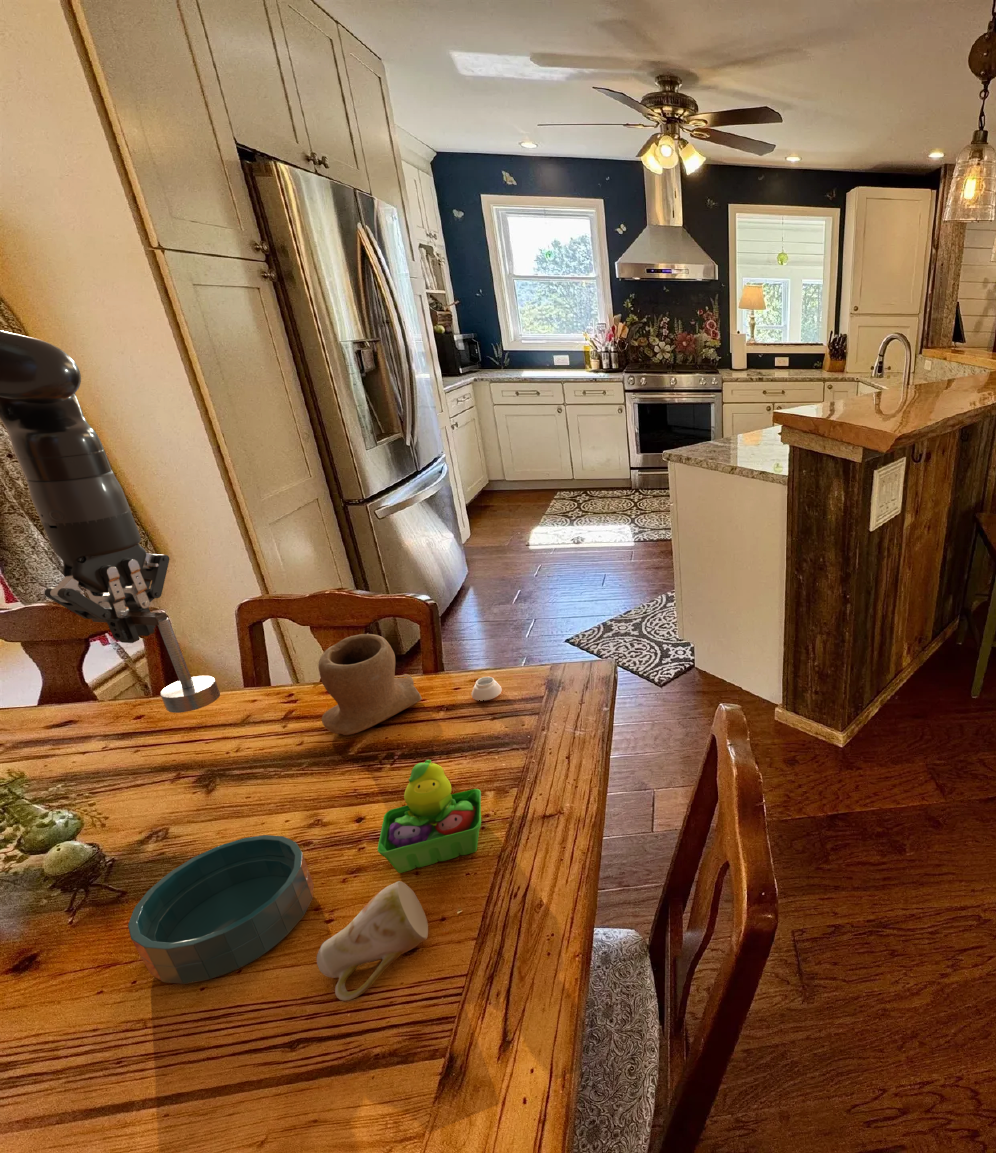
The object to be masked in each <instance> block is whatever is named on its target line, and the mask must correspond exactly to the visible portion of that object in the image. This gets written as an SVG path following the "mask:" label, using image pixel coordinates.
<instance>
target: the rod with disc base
mask: <svg viewBox="0 0 996 1153" xmlns="http://www.w3.org/2000/svg"><path fill="white" fill-rule="evenodd" d="M127 615H130V617H131V619H132V622H133V624H140V625H155V626H157V627H158V630H159V633H160V636H161V637H162V640H163V643H164V645H165V647H166V650H167V653H168V656H169V658H170V660H171V664H172V666H173V669H174V671H175V674H176V676H177V678H178V680H177V681H174V682H172V683H170V684H169V685H167V686H166V687H164V688H163V689H162V690H161V691H160V694H159V695H160V697H161V700H162V702H163V705H164V707H165V710H166V711H167V712H170V713H174V714H180V713H182V714H183V713H187V712H193V711H196V710H200V709H202V708H204V707H207V706H209V705H211V704H213V703H214V702H216V701H217V700H218V699H219V698H220V696H221V691H220V688H219V686H218V683H217V681H216V678H215V677H213V676H211V675H197V676H191V673H190V670H189V668H188V666H187V663H186V660H185V657H184V655H183V653H182V650H181V647H180V644H179V642H178V639H177V636H176V633H175V631H174V628H173V626H172V624H171V621H170V618H169V617H168V616H167V613H166V612H155V611H150V612H138V611H127ZM91 621H92V622H93V623H106V624H107V621H106V620H100V619H91Z"/></svg>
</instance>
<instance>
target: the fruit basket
mask: <svg viewBox="0 0 996 1153" xmlns="http://www.w3.org/2000/svg"><path fill="white" fill-rule="evenodd" d="M451 793H452V784H451V782H450V780H449V778H448V777H447V776H446V773H445V771H444V768H443V767H442V766H441V765H439V764H437V763H435V762H432V760H431V759H426V760H425V761H424V762H418V763H416V764H415V765H414V766H413V768H412V769H411V771H410V777H409V778H408V784H407V786H406V787H405V790H404V793H403V799H404V801H405V803H406V805H403V806H399V807H396V808H391V809H390V810H388V811H387V812H385V813H384V815H383V820H382V823H381V829H380V833H379V834H380V835H379V839H378V843H377V852H378V854H380V856H382V857H383V858H385V859H386V860H387V861H388V862H389V864H390V865H391V866H392V868H394V869H395V870H396V872H397V873H399V874H402V873H403V874H404V873H405V872H410V871H413V870H415V869H416V868H423V867H427V866H431V865H434V864H436V863H438V862H446V861H449V860H452V859H455V858H457V857H460V856H466V855H467V856H468V855H471V854H475V853H476V852H477V851H478V846H479V845H478V844H479V837H480V836H479V834H480V829H481V826H482V791H481V789H478V788H473V789H469V790H464V791H460V792H455V793H452V794H451Z"/></svg>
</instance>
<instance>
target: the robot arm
mask: <svg viewBox="0 0 996 1153" xmlns="http://www.w3.org/2000/svg"><path fill="white" fill-rule="evenodd" d="M81 383H82V374H81V371H80V369H79V366H78V365H77V363H76V362H75V360H74V359H73V358H72V357H71V356H70V355H69V354H68V353H66V352H65V351H64V350H63V349H61V348H59V347H58V346H56V345H54V344H52V343H50V342H48V341H45V340H42V339H40V338H36V337H31V336H26V335H22V334H18V333H13V332H9V331H4V330H0V421H1V422H2V424H3V426H4V427H5V429H6V432H7V434H8V437H9V440H10V443H11V448H12V450H13V453H14V456H15V457H16V460H17V462H18V464H19V466H20V469H21V471H22V473H23V476H24V478H25V479H26V483H27V487H28V490H29V496H30V500H31V501H32V504H33V507H34V510H35V511H36V514H37V515H38V519H39V520H40V522H41V525H42V527H43V529H44V532H45V533H46V536H47V538H48V540H49V543H50V546H51V547H52V549H53V552H54V553H55V555H56V556H58V557H59V558H60V560H61V562H62V564H63V565H62V575H63V576H64V578H62V580H61V581H60V582H59V583H58V584H57V585H56V586H55V587H53V586H51V587H47V588H46V589H44V590H45V591H44V596H45V597H46V598H48V599H50V600H51V601H53V602H55V603H57V604H58V605H60V606H62V607H64V608H65V609H67V610H68V611H70V612H72V613H74V614H76V615H77V616H80V617H81V618H82V619H85V620H92V619H100V620H106V621H107V623H106V624H107V626H108V628H109V630H110V633H111V636H112V638H113V639H115V640H116V641H119V642H120V643H123V644H134V643H136V642H138V641H140V637H141V636H142V637H149V636H151V635H153V634H155V628H156V625H140V624H133V622H132V619H131V617H130V615H127V611H138V612H151V610H150V608H149V607H150V606H151V602H152V601H154V600H155V599H160V598H161V597H162V594H163V590H164V585H165V581H166V577H167V572H168V568H169V564H170V556H169V555H167V554H157V553H149V552H147V551H146V549H145V548H144V547H143V546H141V545H140V543H141V541H142V537H141V535H140V532H139V529H138V526H137V524H136V521H135V519H134V518H135V517H134V516H133V513H132V510H131V508H130V506H129V502H128V499H127V498H126V494H125V492H124V490H123V487H122V485H121V483H120V482H119V481H118V479H117V478H116V475H115V473H114V471H113V469H112V465H111V463H110V461H109V458H108V455H107V453H106V450H105V447H104V445H103V443H102V441H101V439H100V437H99V435H98V433H97V432H96V431H95V430H94V428H93V427H92V426H91V425H90V424H89V423H88V421H87V420H86V417H85V415H84V412H83V410H82V407H81V404H80V402H79V399H78V397H77V395H76V393H77V392H78V390H79V388H80V387H81ZM81 587H82V588H83V589H85V591H86V593H87V596H88V597H87V596H85V591H84V590H82V588H81Z"/></svg>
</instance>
